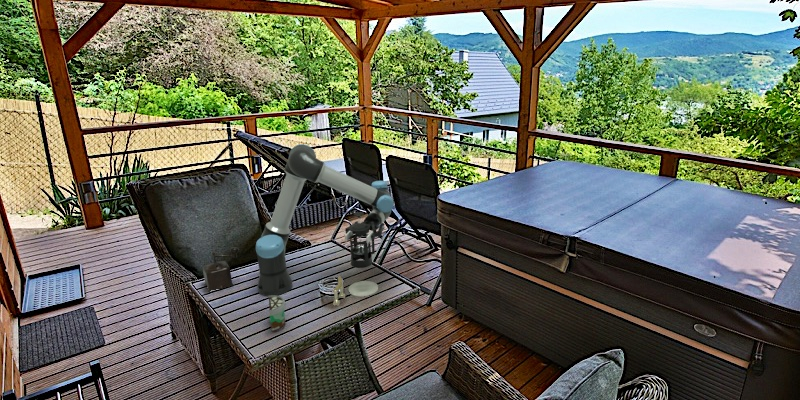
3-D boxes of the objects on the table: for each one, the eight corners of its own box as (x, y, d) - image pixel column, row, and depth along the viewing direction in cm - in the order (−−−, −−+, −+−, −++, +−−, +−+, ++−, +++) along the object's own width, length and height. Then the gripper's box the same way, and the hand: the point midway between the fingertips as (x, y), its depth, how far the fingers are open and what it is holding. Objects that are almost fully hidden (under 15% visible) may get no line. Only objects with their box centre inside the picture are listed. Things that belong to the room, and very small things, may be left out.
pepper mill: (209, 293, 199) (203, 256, 194) (204, 284, 208) (198, 248, 203) (245, 283, 207) (239, 247, 202) (239, 274, 216) (233, 240, 211)
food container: (289, 331, 170) (286, 308, 167) (272, 334, 168) (268, 311, 165) (287, 314, 181) (284, 292, 178) (271, 317, 179) (268, 295, 176)
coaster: (346, 297, 192) (346, 295, 192) (350, 282, 205) (350, 281, 205) (377, 296, 192) (377, 295, 192) (379, 281, 204) (378, 280, 204)
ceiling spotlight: (333, 305, 186) (332, 290, 184) (338, 289, 199) (337, 275, 197) (342, 305, 186) (341, 290, 184) (347, 289, 199) (345, 275, 197)
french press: (356, 270, 188) (353, 219, 180) (345, 262, 195) (341, 213, 188) (379, 262, 194) (377, 212, 187) (368, 255, 201) (365, 207, 194)
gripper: (397, 229, 205) (381, 249, 185) (353, 226, 211) (333, 245, 191) (396, 214, 203) (380, 232, 182) (351, 211, 209) (331, 229, 188)
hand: (356, 239), depth 186 cm, fingers closed on french press, 9 cm apart
